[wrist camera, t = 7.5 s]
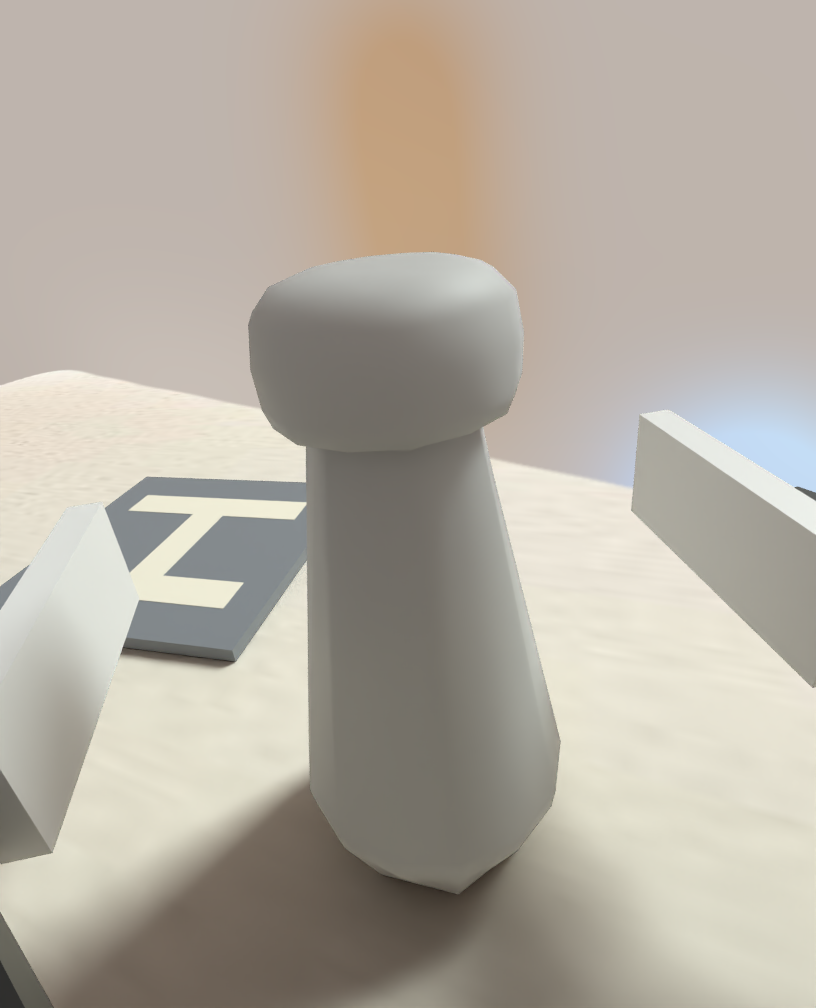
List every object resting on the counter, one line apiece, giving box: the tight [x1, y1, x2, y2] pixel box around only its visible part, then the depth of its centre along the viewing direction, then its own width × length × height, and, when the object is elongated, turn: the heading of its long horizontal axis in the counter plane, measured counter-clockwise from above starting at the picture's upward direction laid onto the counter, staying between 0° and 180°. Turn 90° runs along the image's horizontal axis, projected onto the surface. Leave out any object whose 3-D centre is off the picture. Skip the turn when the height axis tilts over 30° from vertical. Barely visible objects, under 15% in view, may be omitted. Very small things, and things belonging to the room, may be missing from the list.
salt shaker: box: [248, 252, 561, 895], centre depth 13 cm, size 6×6×13 cm
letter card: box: [0, 477, 307, 661], centre depth 28 cm, size 12×12×1 cm
